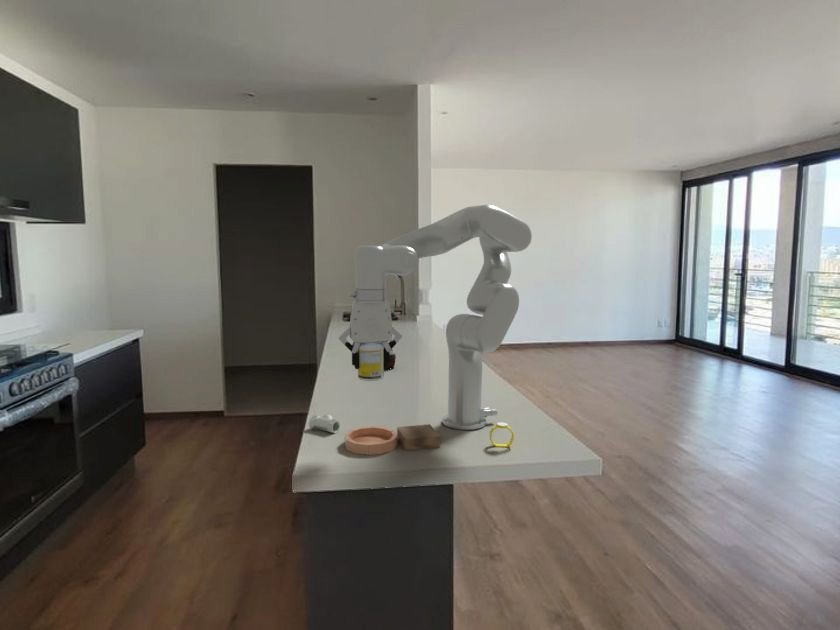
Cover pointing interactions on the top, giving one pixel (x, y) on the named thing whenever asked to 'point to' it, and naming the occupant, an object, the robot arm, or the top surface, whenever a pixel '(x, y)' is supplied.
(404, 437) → the walnut stand
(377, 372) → the pill bottle
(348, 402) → the top surface
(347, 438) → the ring dish
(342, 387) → the top surface
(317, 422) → the pipe fitting
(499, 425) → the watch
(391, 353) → the mate gourd
